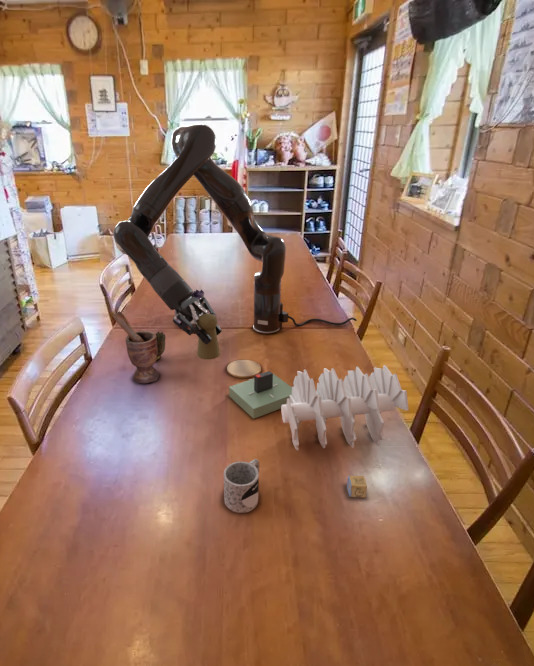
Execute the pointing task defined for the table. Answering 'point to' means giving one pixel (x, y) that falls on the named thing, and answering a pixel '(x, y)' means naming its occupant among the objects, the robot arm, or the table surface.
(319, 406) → the spiral staircase
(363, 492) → the alphabet block
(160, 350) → the ornate metal bell
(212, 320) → the olive round-headed cylinder
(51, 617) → the table surface
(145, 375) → the mortar and pestle
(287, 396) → the control panel
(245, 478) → the grey thin strip
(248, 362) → the coaster
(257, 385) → the black block red tip
